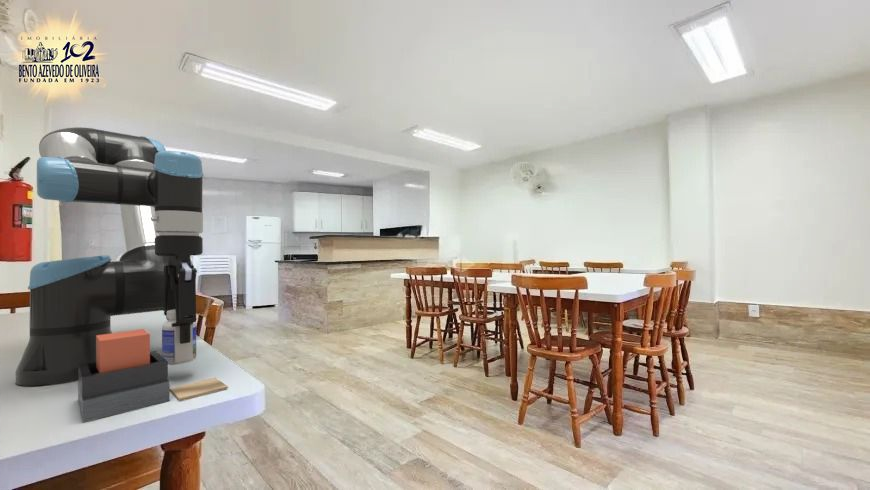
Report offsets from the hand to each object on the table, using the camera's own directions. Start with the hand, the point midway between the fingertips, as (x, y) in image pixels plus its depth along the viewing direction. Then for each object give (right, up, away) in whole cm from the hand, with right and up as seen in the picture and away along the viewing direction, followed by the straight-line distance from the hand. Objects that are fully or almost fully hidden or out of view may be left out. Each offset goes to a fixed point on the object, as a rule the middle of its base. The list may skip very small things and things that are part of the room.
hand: (179, 356), depth 71 cm
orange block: (-1, +2, -11) cm, 11 cm away
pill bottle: (0, -1, 0) cm, 1 cm away
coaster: (+8, -4, -7) cm, 11 cm away
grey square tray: (-1, -4, -11) cm, 12 cm away
